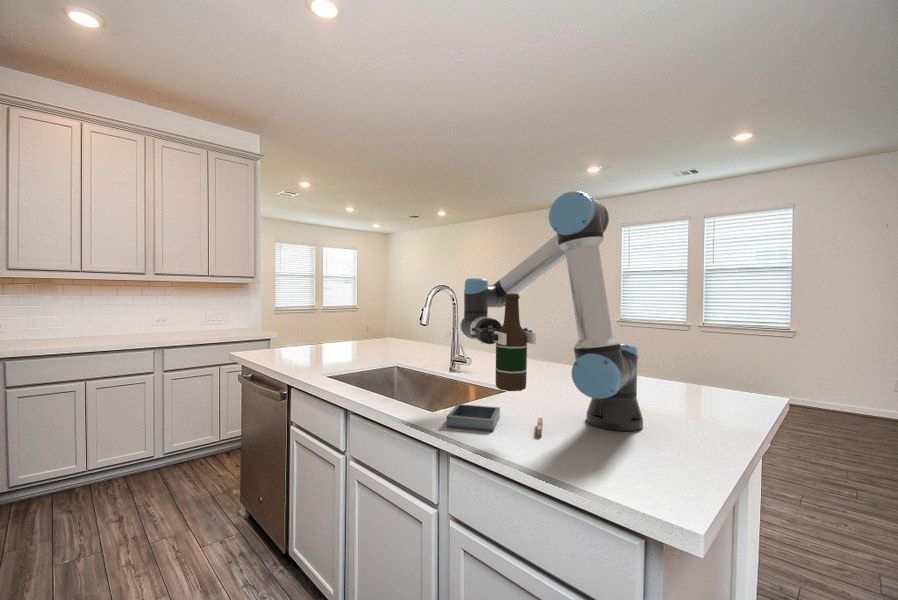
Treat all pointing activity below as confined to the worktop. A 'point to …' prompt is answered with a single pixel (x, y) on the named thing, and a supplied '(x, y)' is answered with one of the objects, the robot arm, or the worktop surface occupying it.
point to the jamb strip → (539, 427)
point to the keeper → (473, 417)
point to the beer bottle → (511, 350)
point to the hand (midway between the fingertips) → (519, 339)
